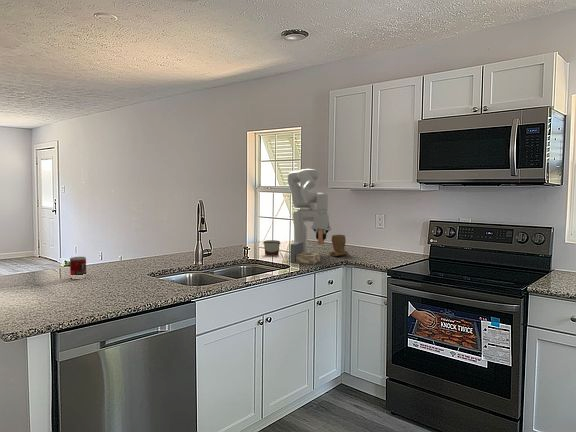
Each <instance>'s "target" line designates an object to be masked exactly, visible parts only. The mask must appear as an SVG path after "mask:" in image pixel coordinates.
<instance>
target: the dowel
mask: <svg viewBox="0 0 576 432" xmlns="http://www.w3.org/2000/svg"><path fill="white" fill-rule="evenodd" d="M323 234H324V230H323V229H318V239H317V245H324V244H325V240H323Z"/></svg>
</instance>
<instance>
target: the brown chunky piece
mask: <svg viewBox="0 0 576 432" xmlns="http://www.w3.org/2000/svg"><path fill="white" fill-rule="evenodd" d="M331 243H332V247H333V250H332V251H330V252H329V255H331V256H332V257H341V256H346V255H349V254H350V252H348V251H346V250H345V246H346V244H347V243H346V235H345V234H332V235H331Z"/></svg>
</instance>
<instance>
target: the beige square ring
mask: <svg viewBox="0 0 576 432" xmlns="http://www.w3.org/2000/svg"><path fill="white" fill-rule="evenodd" d="M318 262H319V263H320V262H321V253H318V252H317V253H315V252H309V253H306V252H302V253H300V254H297V255H296V263H297V264H306V263H307V264H308V265H315V264H317V263H318ZM296 263H295V264H296ZM307 264H306V265H307Z"/></svg>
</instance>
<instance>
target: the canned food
mask: <svg viewBox="0 0 576 432" xmlns="http://www.w3.org/2000/svg"><path fill="white" fill-rule="evenodd" d="M69 266H70V267H69V268H70V269H69V271H70V272H69V273H70V275H83V274H86V275H87V258H86V256H74V257H70V258H69Z"/></svg>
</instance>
